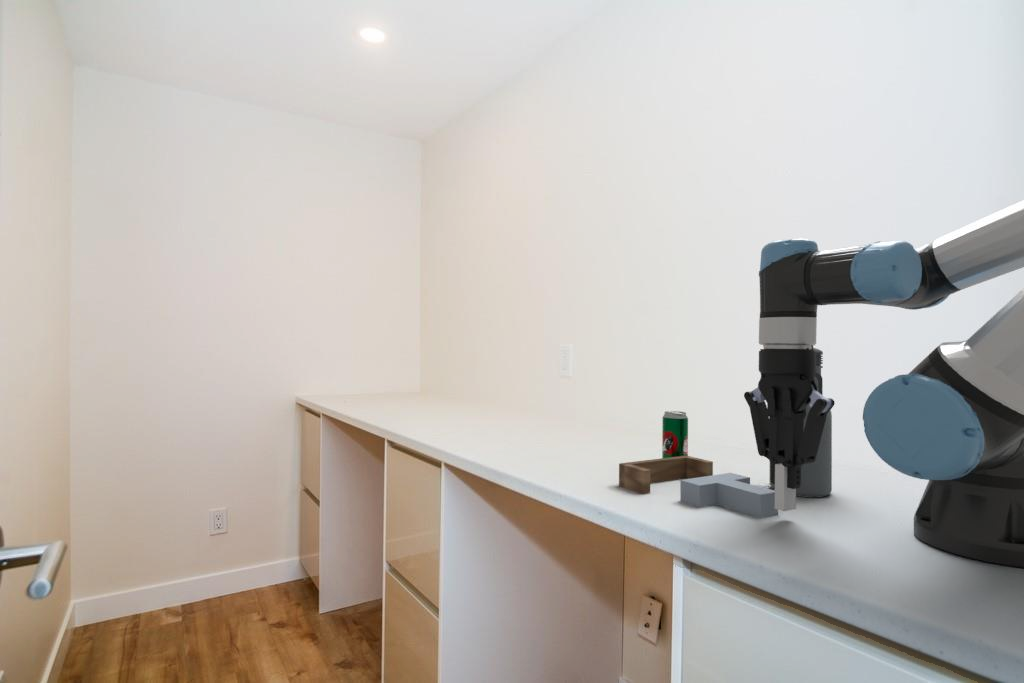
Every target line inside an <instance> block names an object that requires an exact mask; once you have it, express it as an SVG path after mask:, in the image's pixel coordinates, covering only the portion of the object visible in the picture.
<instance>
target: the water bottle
mask: <svg viewBox="0 0 1024 683" xmlns="http://www.w3.org/2000/svg"><path fill="white" fill-rule="evenodd" d="M811 350H815V352H816V373H815V376H814V380H815V383H816V385H817V388H818V390H817V392H819V393H820V394H821V395H823V377H822V368H823V364H824V363H823V361H824V358H823V354H824V352H823V351H822V350H820V349H819V348H816V347H814V345H811ZM810 403H811V401H810V402H809V404H810ZM809 404H808V405H807V406H806V416H805V418H804V427H803V432H804V428H805V424H806V420H807V416H808V413H809V411H810V409H811V407H810V406H809ZM831 410H832V409H831ZM831 410H830V411H829V413H828V414H827V417H826V421H825V425H824V429H823V432H822V436H821V440H820V444H819V448H818V452H817V456H816V459H815V462H814V463H809V464H804V465H802V467H801V486H800V488H797V489H796V497H803V498H821V497H825V496H828V495H830V494H831V493H832V489H833V488H832V486H833V484H832V481H833V478H832V477H833V476H832V472H833V470H832V469H833V459H832V458H833V454H832V453H833V451H832V450H833V445H832V443H833V442H832V440H833V438H832V437H833V429H832V428H833V425H832V424H833V421H832V419H833V417H832V416H833V415H832V411H831ZM784 462H785V461H784ZM769 485H770V487H771V488H772V490H775V484H772V483H771V463H770V462H769Z"/></svg>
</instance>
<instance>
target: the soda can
mask: <svg viewBox="0 0 1024 683" xmlns="http://www.w3.org/2000/svg"><path fill="white" fill-rule="evenodd" d="M661 437H662V439H661V441H662V444H661V446H662V450H661V451H662V455H661V456H662V457H661V458H670V457H678V456H689V418H688V416H687V412H684V411H679V410H678V411H677V410H675V411H674V410H669V411H666V410H665V411H664V414H663V416H662V436H661Z"/></svg>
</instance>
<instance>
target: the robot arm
mask: <svg viewBox="0 0 1024 683" xmlns="http://www.w3.org/2000/svg"><path fill="white" fill-rule="evenodd" d="M818 246H819V245H818V244H817V242H816V241H815V240H812V239H807V238H792V239H781V240H775V241H771V242H768V243H767V244H765V245H764V246H763V247H762V249H761V252H760V265H759V271H758V278H759V308H760V309H759V310H760V312H759V319H758V320H759V321H758V344H759V345H760V346H761V345H762V347H763V348H760V349H759V350H758V372H759V373H760V379H759V381H758V383H757V387H756V388H754V389H753V390H751V391H745V392H744V394H743V396H744V399H745V401H746V403H747V405H748V408H749V411H750V416H751V421H752V425H753V432H754V437H755V443H756V447H757V449H756V450H757V452H758V455H759V456H761V457H764V458H766V459H767V460H769V461H768V462H769V464H770V463H771V483H772V484H775V489H774V491H775V509H777V510H778V511H780V512H788V511H792V510H796V508H797V500H796V499H797V496H796V489H797V488H800V486H801V467H802V465H804V464H809V463H814V462H815V459H816V456H817V452H818V448H819V444H820V440H821V436H822V432H823V429H824V425H825V421H826V417H827V414H828V413H829V411H830V410H832V409H833V407H834V406H835V400H834V399H833V398H831V397H830V398H829V397H828V398H827V397H825V396H824V395H823V394H822V395H821V394H820V393H819V392H817V390H818V388H817V385H816V383H815V380H814V376H815V373H816V352H815V350H811V345H813V346H816V344H817V321H818V320H817V317H818V316H817V315H818V306H828V305H850V304H851V305H854V304H855V305H857V304H858V305H859V304H860V305H861V304H862V305H872V306H874V305H875V306H882V307H883V306H885V307H892V308H893V307H895V308H900V309H905V310H914V311H915V310H921V309H928V308H933V307H935V306H938V305H940V304H941V303H943V302H944V301H945V300H946V299H948V297H950V296H951V295H952V294H955V293H957V292H960V291H961V290H965V289H968V288H970V287H973V286H976V285H978V284H981V283H984V282H987V281H990V280H992V279H995V278H997V277H998V278H999V277H1001V276H1004V275H1006V274H1009V273H1012V272H1015V271H1017V270H1020V269H1023V268H1024V200H1022V201H1019V202H1017V203H1015V204H1013V205H1010V206H1008V207H1006V208H1004V209H1002V210H999V211H997V212H995V213H993V214H990V215H988V216H986V217H984V218H981V219H979V220H977V221H974V222H972V223H970V224H968V225H966V226H964V227H961V228H960V229H957V230H955V231H952V232H950V233H947V234H946V235H943V236H941V237H938V238H937V239H935V240H932V241H931V242H928V243H926V244H924V245H921V246H919V247H917V248H914V246H913V244H911V243H910V242H908V241H905V240H895V241H885V242H884V241H874V242H871V243H867V244H863V245H862V244H861V245H855V246H849V247H841V248H836V249H828V250H821V251H819V248H818ZM810 401H811V403H810V404H809V402H810ZM808 404H809V406H810V407H811V409H810V411H809V413H808V416H807V420H806V424H805V428H804V432H803V427H804V418H805V416H806V406H807V405H808ZM862 411H863V412H862V421H863V426H864V427H863V428H864V429H863V430H864V434H865V437H866V439H867V441H868V443H869V445H870V446H871V448H872V450H873V451H874V452H875V454H876V455H877V456H878V457H879V458H880V459H881V460H882V461H883V462H884V463H886V464H887V465H888V466H889V467H891V468H892V469H894V470H896V471H897V472H899V473H901V474H903V475H906V476H909V477H912V478H914V479H920V480H925V481H926V480H927V481H928V482H927V484H926V487H925V489H924V492H923V494H922V495H921V496H922V497H921V498H920V501H919V504H918V506H917V508H916V511H915V513H914V515H913V516H914V517H913V534H914V536H915V537H916V538H917V539H919V540H920V541H921V542H924V543H925V544H928V545H930V546H932V547H934V548H937V549H940V550H942V551H945V552H949V553H951V554H954V555H955V554H956V555H958V556H962V557H966V558H970V559H974V560H978V561H982V562H988V563H993V564H997V565H1003V566H1004V565H1005V566H1013V567H1020V568H1024V287H1023V288H1022V289H1021V290H1020V291H1019V292H1018V293H1017V294H1016V295H1015V296H1014V297H1012V299H1010V300H1009V301H1008V302H1007V303H1006V304H1005V305H1004V306H1002V308H1000V309H999V310H998V311H997V312H996V313H995V314H994V315H993V316H991V317H990V318H989V319H988V321H986V322H985V323H984V324H983V325H982V326H981V327H980V328H978V329H977V330H976V332H974V333H973V334H972V335H971V336H970V337H969V338H967V339H966V340H962V341H948V342H941V343H940V344H939V345H938V346H936V347H935V349H933V350H932V351H931V352H930V353H929V354H928V355H927V356H926V357H925V358H924V359H923V360H921V361H920V362H919V363H918V364H917V365H916V366H915V367H914V368H913V369H912V370H911V371H910V372H909V373H908V374H907V373H906V374H899V375H896V376H893V377H892V378H889V379H888V380H885V381H883V382H882V383H880V384H879V385H878V386H876V387H875V388H874V389H873V390H872V391H871V392H870V394H869V395H868V397H867V398H866V401H865V403H864V406H863V410H862ZM784 461H785V462H784Z"/></svg>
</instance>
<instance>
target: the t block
mask: <svg viewBox="0 0 1024 683" xmlns="http://www.w3.org/2000/svg"><path fill="white" fill-rule="evenodd" d="M679 483H680V488H679V489H680V490H679V491H680V494H679V496H680V499H679V500H680V502H681V503H685V504H688V505H691V506H693V507H696V508H706V507H709V506H711V507H712V506H715V505H718V506H721V507H724V508H727V509H730V510H734V511H737V512H739V513H742V514H747V515H749V516H752V517H756V518H759V519H764V518H769V517H772V516H778V514H779V510H777V509H775V489H770V488H766V487H763V486H762V487H761V486H758V485H755V484H751V477H748V476H745V475H741V474H737V473H733V472H726V473H720V474H713V475H711V476H705V477H698V478H691V479H688V478H685V479H680V482H679Z"/></svg>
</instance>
